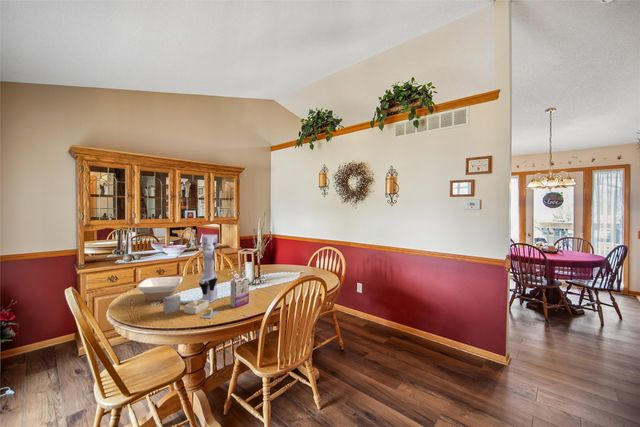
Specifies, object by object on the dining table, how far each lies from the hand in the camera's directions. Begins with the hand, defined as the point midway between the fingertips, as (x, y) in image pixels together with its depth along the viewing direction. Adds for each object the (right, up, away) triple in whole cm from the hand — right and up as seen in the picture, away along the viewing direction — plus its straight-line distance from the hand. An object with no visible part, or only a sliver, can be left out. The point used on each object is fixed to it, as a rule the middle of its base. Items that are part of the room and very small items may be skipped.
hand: (208, 292), depth 166 cm
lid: (+4, -11, -9) cm, 15 cm away
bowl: (-39, -8, +17) cm, 43 cm away
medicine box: (-19, -10, -6) cm, 22 cm away
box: (-6, -10, -3) cm, 12 cm away
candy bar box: (+17, -10, +8) cm, 21 cm away
